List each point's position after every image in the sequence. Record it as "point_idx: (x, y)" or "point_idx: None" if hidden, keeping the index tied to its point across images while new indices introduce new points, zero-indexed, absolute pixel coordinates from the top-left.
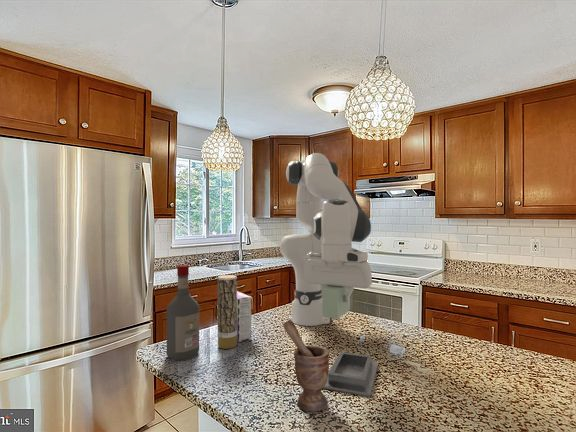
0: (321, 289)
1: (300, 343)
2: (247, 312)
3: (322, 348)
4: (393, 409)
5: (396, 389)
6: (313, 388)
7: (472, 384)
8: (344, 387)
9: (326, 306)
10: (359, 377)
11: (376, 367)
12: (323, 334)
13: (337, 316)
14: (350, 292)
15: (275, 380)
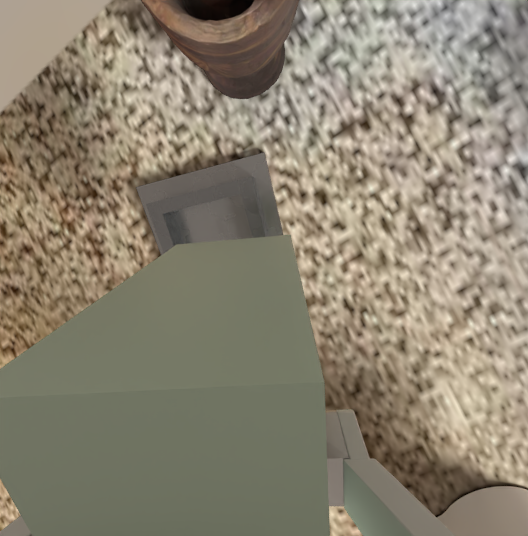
0: (429, 514)
1: None
2: None
3: (185, 17)
4: (71, 161)
5: (110, 258)
6: None
7: (5, 363)
8: (204, 179)
9: (252, 261)
10: (165, 209)
11: None
12: (410, 456)
13: (170, 249)
14: (17, 520)
15: (409, 113)
